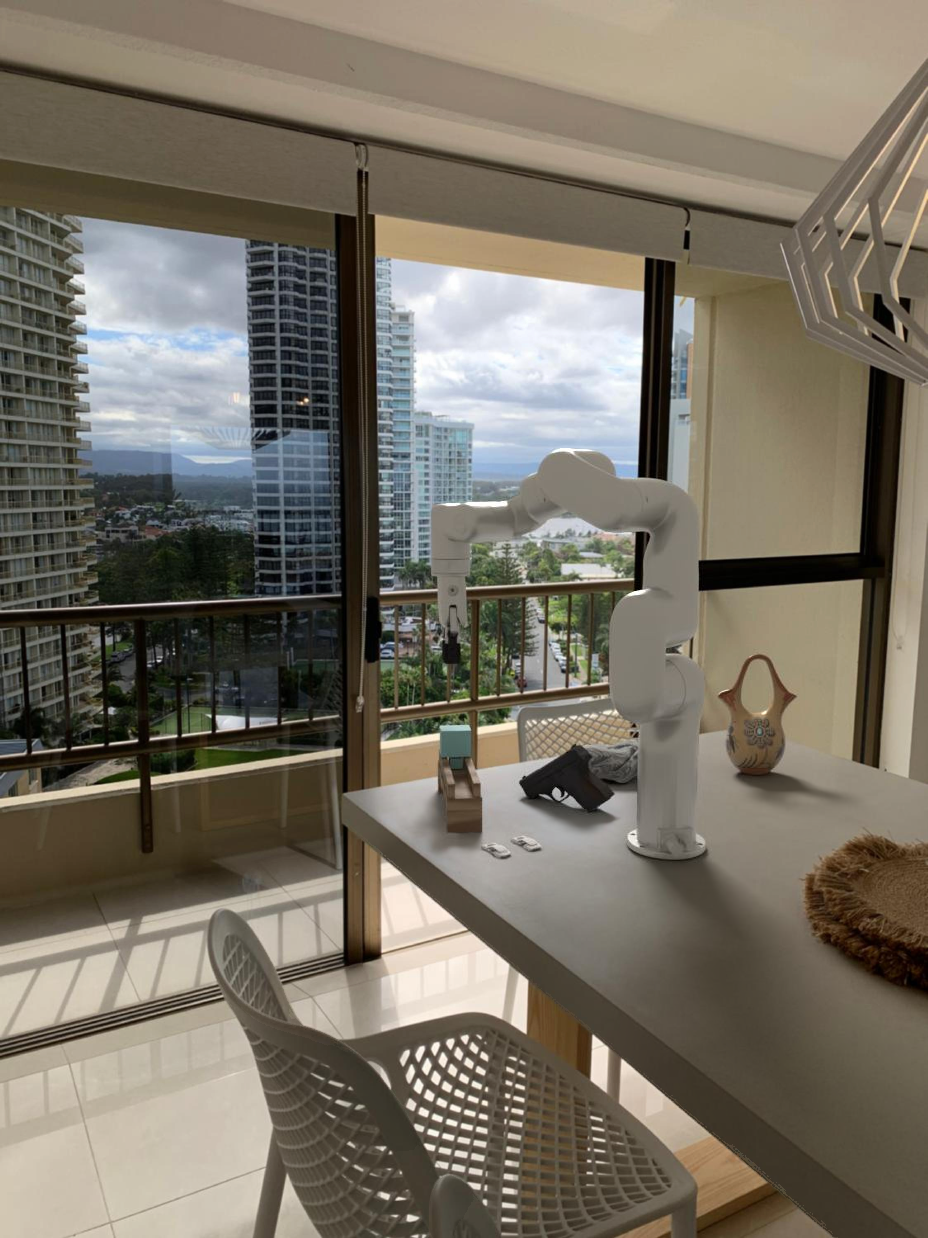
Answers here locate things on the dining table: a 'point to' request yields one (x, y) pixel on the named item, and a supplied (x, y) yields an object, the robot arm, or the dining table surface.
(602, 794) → the handgun
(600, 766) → the decorative stone
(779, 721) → the ceramic vessel
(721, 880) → the dining table surface
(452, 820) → the beam
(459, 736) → the teal rectangular block
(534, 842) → the white curved pieces
